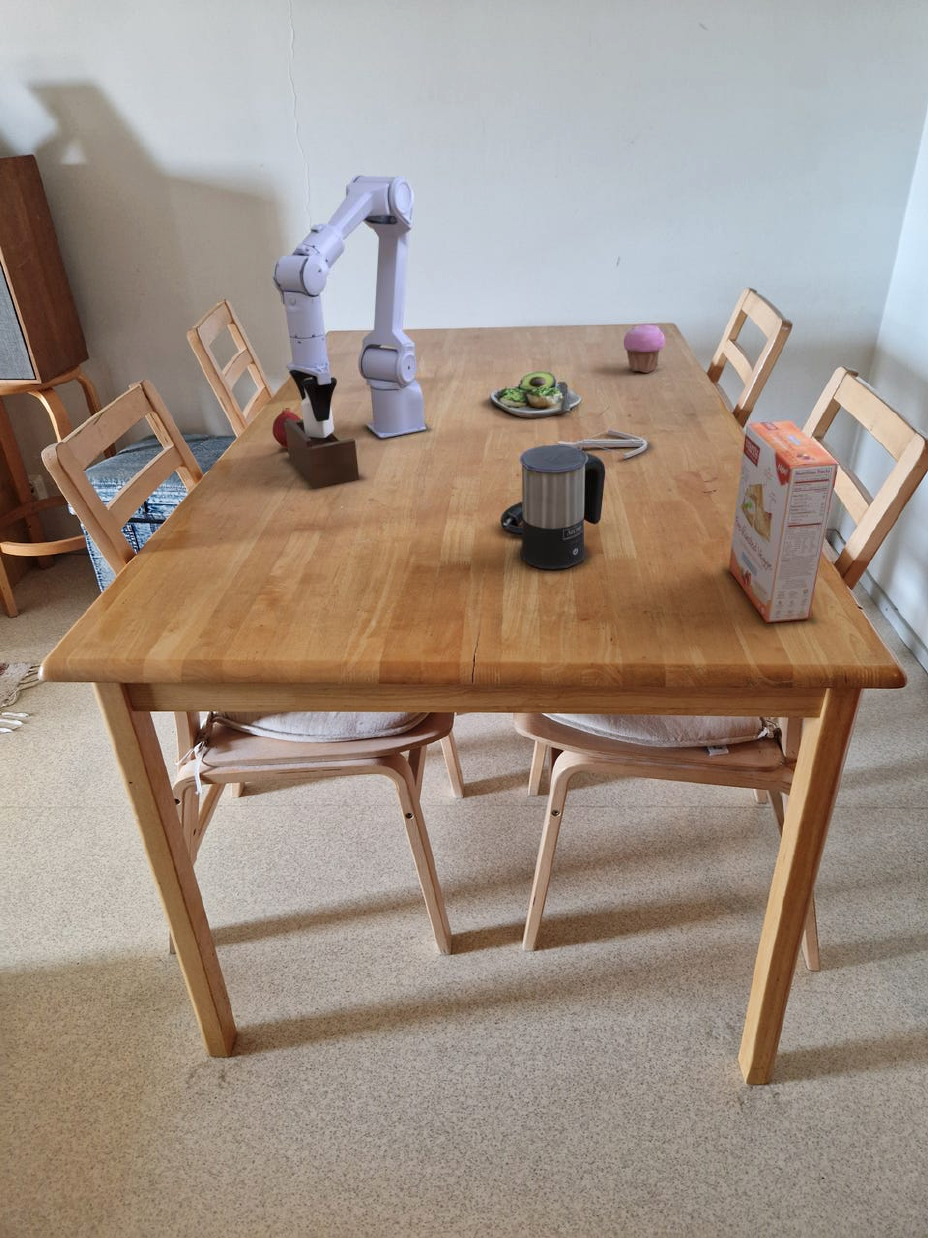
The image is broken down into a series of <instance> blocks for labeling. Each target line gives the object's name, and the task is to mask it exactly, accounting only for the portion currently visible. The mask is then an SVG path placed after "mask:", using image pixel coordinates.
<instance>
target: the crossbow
mask: <svg viewBox="0 0 928 1238" xmlns="http://www.w3.org/2000/svg"><path fill="white" fill-rule="evenodd" d="M605 432H607V434H609V435H612V436H616V437H621V438H624V439H593V437H597V436H599V435H602V434H604V433H605ZM557 445H565V446H570V447H575V448H577V449H580V450H584V448H587V447H588V448H594V447H595V448H596V447H597V448H600V449H604V450H606V451H607V450H608V451H610V452H614V453H617V454H620V455H623V456H622V459H623V460H626V459H628V458H631V457H634V456H636V455H639V454H640V453H642V452H643V451H646V449H647V448H648V442H647V440H646V439H643V438H642V437H639V436H636V435H633V434H629V433H625V432H622V431H617V430H614V429H611V428H609V429H607V430H605V431H603V432H600V433H598V434H595V435H593V436H590V437H589V438H584V439H580V440H576V441H574V442H571V441H561V440H560V441H559V440H557ZM609 448H636V449H634V450H632V451H630V452H627V453H622V452H618V451H616V450H612V449H609Z"/></svg>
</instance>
